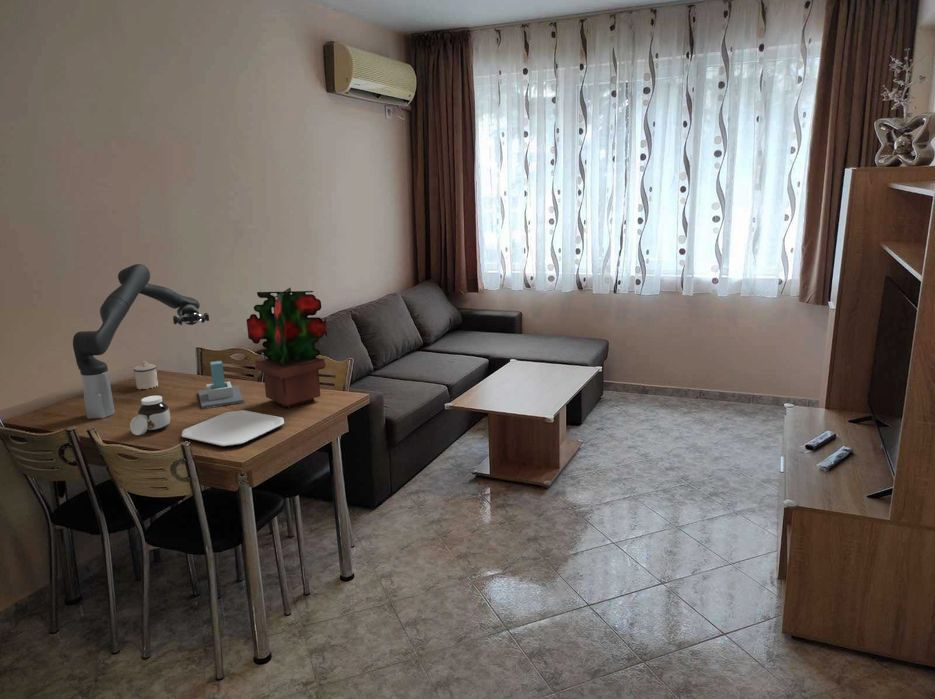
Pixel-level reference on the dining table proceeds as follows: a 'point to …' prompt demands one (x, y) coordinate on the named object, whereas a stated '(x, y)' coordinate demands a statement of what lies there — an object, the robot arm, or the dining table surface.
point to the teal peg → (217, 374)
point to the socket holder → (220, 395)
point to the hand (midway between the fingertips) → (192, 321)
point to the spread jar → (151, 416)
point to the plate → (233, 428)
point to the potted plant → (289, 345)
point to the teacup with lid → (145, 375)
